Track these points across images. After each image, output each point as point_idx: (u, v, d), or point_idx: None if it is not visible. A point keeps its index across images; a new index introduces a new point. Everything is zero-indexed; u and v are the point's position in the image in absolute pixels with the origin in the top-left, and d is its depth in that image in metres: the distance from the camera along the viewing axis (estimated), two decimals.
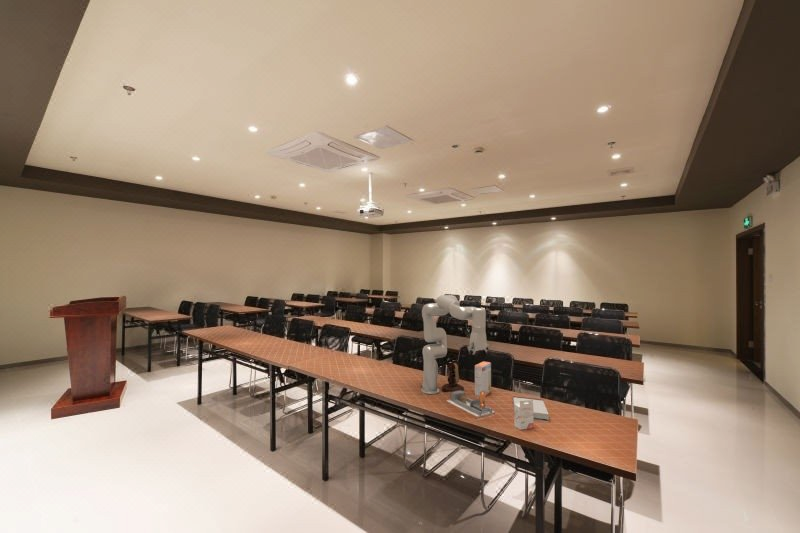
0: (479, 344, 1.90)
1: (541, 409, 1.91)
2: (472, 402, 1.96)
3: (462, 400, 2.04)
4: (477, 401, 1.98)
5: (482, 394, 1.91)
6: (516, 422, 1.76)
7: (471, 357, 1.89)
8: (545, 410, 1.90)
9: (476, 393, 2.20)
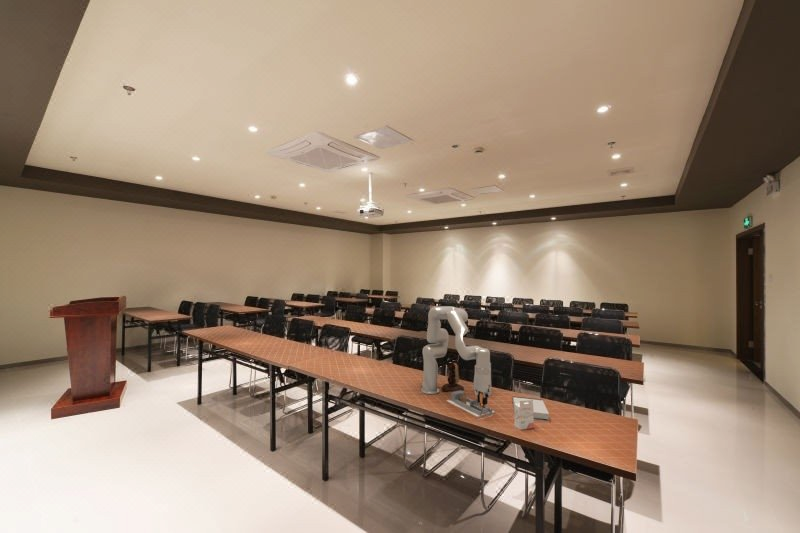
0: None
1: (542, 409, 1.91)
2: (472, 402, 1.96)
3: (462, 400, 2.04)
4: None
5: (482, 394, 1.91)
6: (516, 422, 1.76)
7: (486, 401, 1.90)
8: (545, 410, 1.90)
9: (476, 393, 2.20)
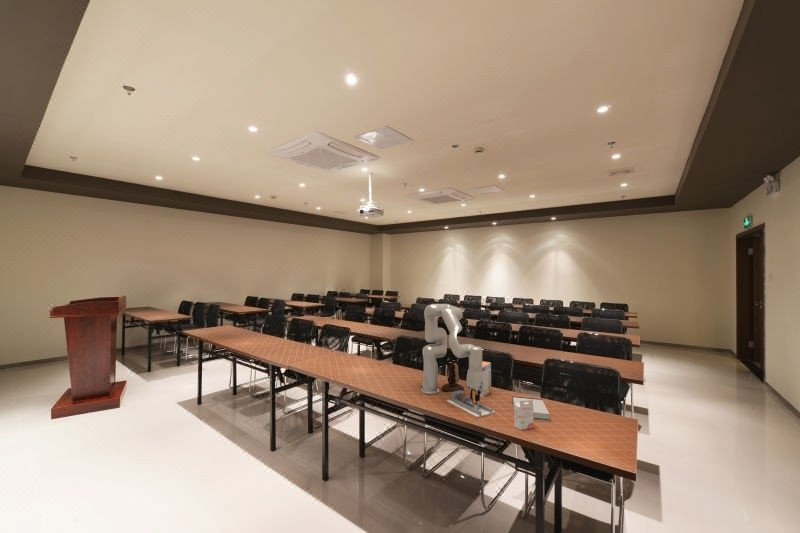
0: None
1: (542, 409, 1.91)
2: (465, 399, 2.01)
3: (462, 400, 2.04)
4: None
5: (475, 391, 1.96)
6: (516, 422, 1.76)
7: (478, 397, 1.95)
8: (545, 410, 1.90)
9: None
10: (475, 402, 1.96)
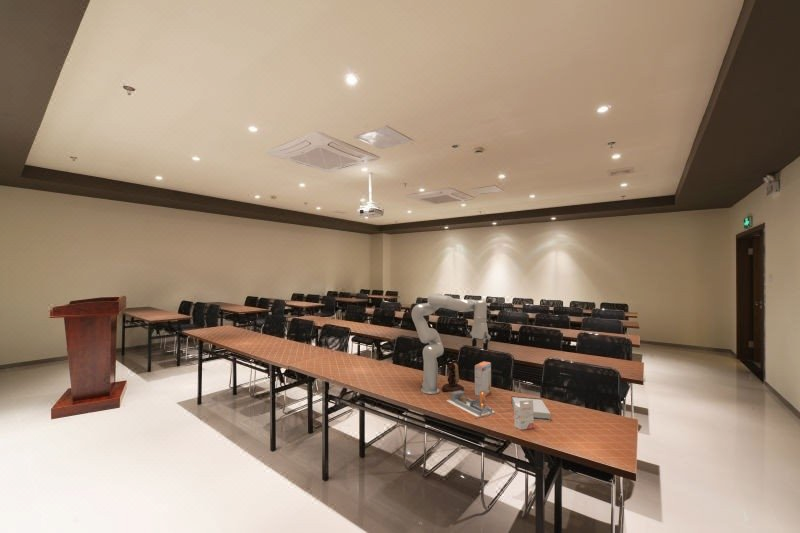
0: None
1: (542, 409, 1.92)
2: (472, 402, 1.96)
3: (462, 400, 2.04)
4: (477, 401, 1.98)
5: (482, 394, 1.91)
6: (516, 422, 1.76)
7: (486, 345, 2.06)
8: (546, 409, 1.91)
9: (476, 393, 2.20)
10: (482, 405, 1.91)
